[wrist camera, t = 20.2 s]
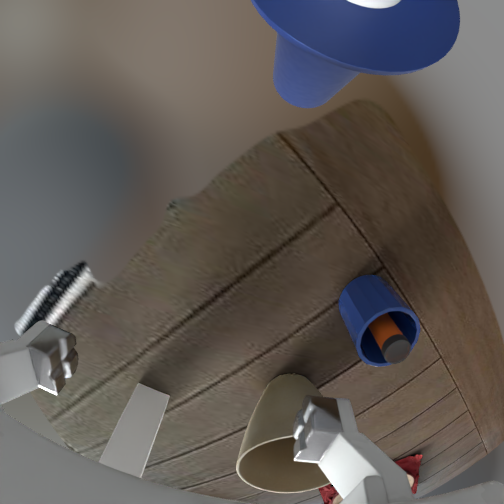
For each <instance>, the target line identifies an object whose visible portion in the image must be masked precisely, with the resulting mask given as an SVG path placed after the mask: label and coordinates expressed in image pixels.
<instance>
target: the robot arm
mask: <svg viewBox="0 0 504 504" xmlns="http://www.w3.org/2000/svg"><path fill="white" fill-rule="evenodd" d="M347 1H349V2H351V3H354V4H357V5H360V6H364V7H369V8H388V7H391V6H394V5H396V4H397V3H399V2H400V1H401V0H347ZM75 345H76V337H75V336H74V335H73V334H72V333H69V332H67V331H65V330H63V329H60V328H58V327H56V326H54V325H51V324H49V323H47V322H45V321H38V322H37V323H36V324H35V325H34V326H32V327H31V328H30V329H29V330H28V331H27V332H25V333H24V334H23V335H22V336H21V337H20V338H18V339H17V340H16V341H15V340H9V341H4V342H0V504H257V503H249V502H242V501H235V500H229V499H223V498H217V497H212V496H207V495H202V494H197V493H193V492H189V491H184V490H180V489H176V488H173V487H169V486H165V485H162V484H158V483H155V482H152V481H148V480H145V479H142V478H139V477H136V476H133V475H130V474H127V473H125V472H122V471H119V470H116V469H114V468H111V467H109V466H106V465H104V464H101V463H99V462H96V461H94V460H92V459H89V458H87V457H85V456H83V455H80V454H78V453H76V452H74V451H72V450H70V449H68V448H66V447H64V446H62V445H59V444H58V443H56V442H54V441H52V440H50V439H48V438H46V437H44V436H43V435H41V434H39V433H37V432H36V431H34V430H32V429H30V428H29V427H27V426H25V425H24V424H22V423H21V422H19V421H17V420H16V419H14V418H13V417H11V416H10V415H8V414H6V413H5V411H4V409H3V407H2V405H1V404H3V403H5V402H8V401H10V400H12V399H14V398H17V397H19V396H21V395H23V394H26V393H28V392H30V391H32V390H35V389H37V388H39V387H41V388H43V389H45V390H47V391H49V392H51V393H53V394H56V395H58V393H59V392H60V391H61V389H62V388H63V387H64V386H65V384H66V383H65V379H66V378H69V377H72V375H73V374H74V373H75V371H76V368H77V365H78V353H77V352H76V350H75V349H74V346H75ZM38 386H39V387H38ZM293 437H294V438H295V439H296V442H295V444H294V446H293V451H294V461H299V462H309V463H318V466H319V467H320V468H321V470H322V471H323V472H324V474H325V475H326V477H327V478H328V479H329V481H330V482H331V483H332V485H333V486H334V487H335V489H336V490H337V491H338V493H339V494H340V495H341V497H342V498H343V500H342V501H341V502H340V503H339V504H504V485H503V484H501V483H499V482H497V481H488V482H484V483H482V484H478V485H475V486H471V487H468V488H464V489H461V490H457V491H453V492H449V493H445V494H440V495H436V496H431V497H426V498H421V499H415V500H414V497H413V493H412V490H411V487H410V483H409V480H408V477H407V474H406V472H405V471H404V470H403V469H402V468H400V467H399V466H398V465H397V464H396V463H395V462H394V461H393V460H391V459H390V458H389V457H388V456H387V455H386V454H385V453H384V452H383V451H381V450H380V449H379V448H378V447H377V446H376V445H375V444H374V443H373V442H372V441H370V440H369V439H368V438H367V437H366V436H365V435H364V434H363V433H359V432H358V428H357V425H356V421H355V417H354V413H353V410H352V406H351V402H350V400H349V399H342V398H329V397H320V396H311V395H306V396H305V397H304V399H303V401H302V409H301V410H299V411H298V412H297V414H296V416H295V419H294V423H293Z"/></svg>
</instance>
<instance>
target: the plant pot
mask: <svg viewBox="0 0 504 504" xmlns="http://www.w3.org/2000/svg"><path fill="white" fill-rule="evenodd" d="M306 395H311V396H320V397H323V396H322V394H321V393H320V392H319V391H318V390H317V388H316V387H315V386H314V385H313V384H312V383H311V382H310V381H309V380H308V379H307V378H306V377H304V376H302V375H299V374H283V375H280V376H277V377H276V378H274V379H273V380H271V381H270V383H269V384H268V385H267V387H266V389H265V390H264V392H263V394H262V396H261V397H260V399H259V401H258V403H257V405H256V407H255V409H254V412H253V414H252V416H251V419H250V421H249V424H248V427H247V429H246V432H245V435H244V438H243V442H242V445H241V449H240V453H239V457H238V460H237V464H236V470H237V473H238V475H239V477H240V478H241V479H242V480H243V481H244V482H246V483H247V484H249V485H251V486H253V487H255V488H258V489H261V490H264V491H269V492H276V493H296V492H304V491H309V490H313V489H317V488H320V487H323V486H326V485H328V484H330V483H331V482H330V481H329V479H328V478H327V477H326V475H325V474H324V472H323V471H322V470H321V468H320V467H319V466H318V463H309V462H299V461H294V451H293V446H294V444H295V442H296V439H295V438H294V437H293V423H294V419H295V416H296V414H297V412H298V411H299V410H301V409H302V401H303V399H304V397H305V396H306Z"/></svg>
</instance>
